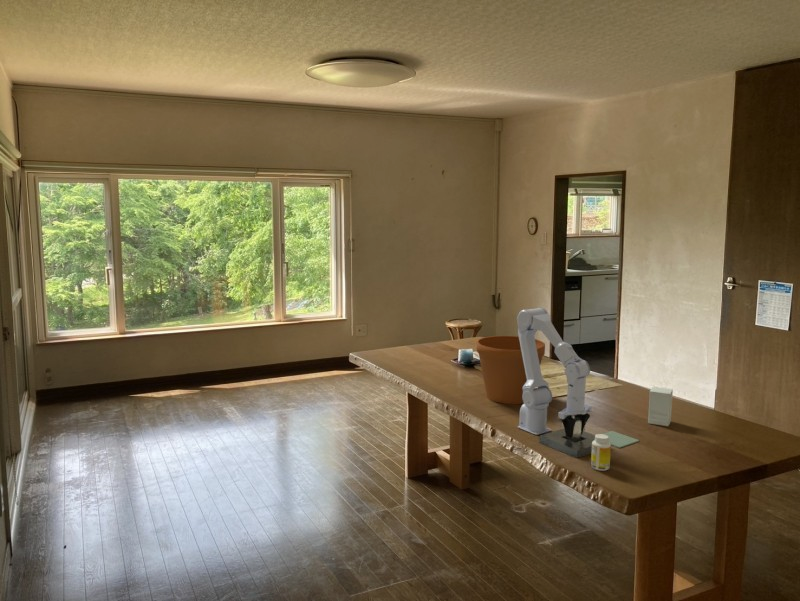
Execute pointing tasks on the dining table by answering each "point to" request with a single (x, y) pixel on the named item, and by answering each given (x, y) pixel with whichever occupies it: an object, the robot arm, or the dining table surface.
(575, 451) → the socket block
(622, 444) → the mat
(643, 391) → the dining table surface
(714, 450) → the dining table surface
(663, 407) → the supplement box
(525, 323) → the robot arm
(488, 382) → the flowerpot
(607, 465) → the supplement bottle
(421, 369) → the dining table surface
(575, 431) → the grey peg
